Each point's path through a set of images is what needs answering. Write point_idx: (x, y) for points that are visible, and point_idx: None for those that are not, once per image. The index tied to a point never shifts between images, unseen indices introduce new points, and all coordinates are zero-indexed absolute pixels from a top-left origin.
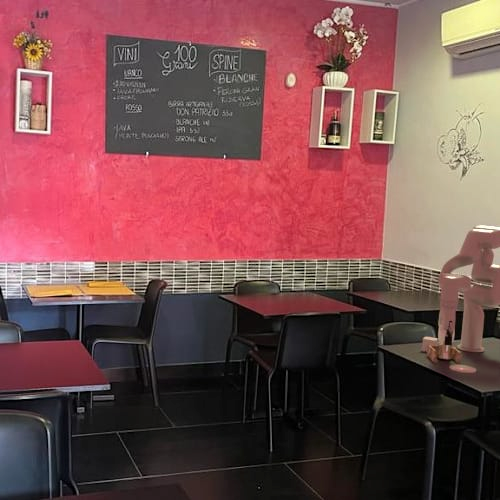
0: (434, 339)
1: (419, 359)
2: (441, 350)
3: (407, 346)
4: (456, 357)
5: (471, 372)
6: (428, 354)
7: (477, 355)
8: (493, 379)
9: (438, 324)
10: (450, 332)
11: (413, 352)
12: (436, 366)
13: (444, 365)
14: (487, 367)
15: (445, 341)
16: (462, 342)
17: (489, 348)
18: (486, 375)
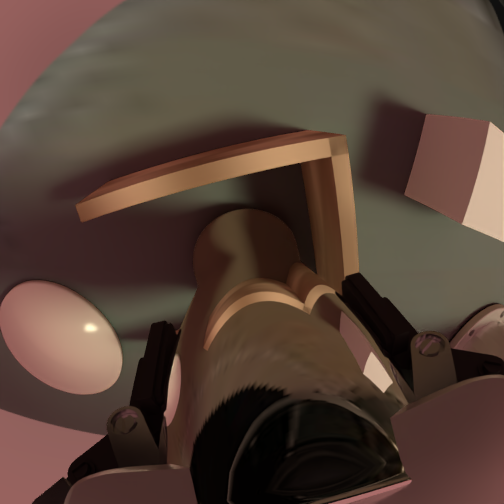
0: (488, 216)
1: (150, 69)
2: (207, 260)
3: (481, 54)
4: None
5: (28, 368)
6: (278, 137)
7: None
8: (19, 412)
9: (484, 394)
10: (59, 486)
11: (365, 43)
12: (20, 205)
13: (72, 253)
14: None
15: (147, 354)
16: (492, 340)
17: None
18: (47, 406)
